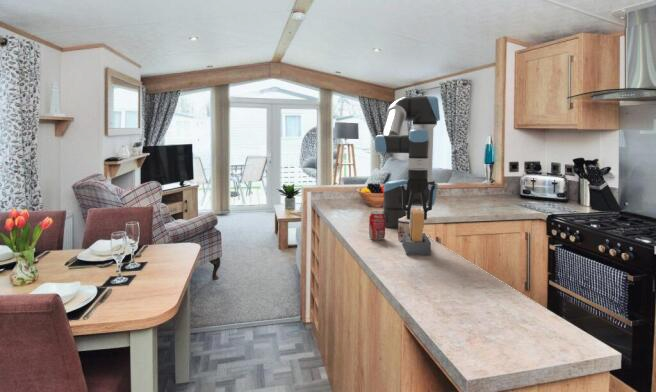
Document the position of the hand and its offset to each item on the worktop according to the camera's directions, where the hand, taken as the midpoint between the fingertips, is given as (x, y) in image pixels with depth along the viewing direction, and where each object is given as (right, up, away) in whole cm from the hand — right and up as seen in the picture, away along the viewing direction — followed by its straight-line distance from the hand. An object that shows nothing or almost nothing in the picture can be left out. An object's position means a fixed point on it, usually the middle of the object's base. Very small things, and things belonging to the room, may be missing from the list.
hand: (416, 227), depth 176 cm
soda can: (-13, -7, +20) cm, 25 cm away
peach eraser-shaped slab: (0, -6, +1) cm, 6 cm away
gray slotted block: (0, -9, +1) cm, 9 cm away
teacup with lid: (0, -7, +17) cm, 19 cm away
